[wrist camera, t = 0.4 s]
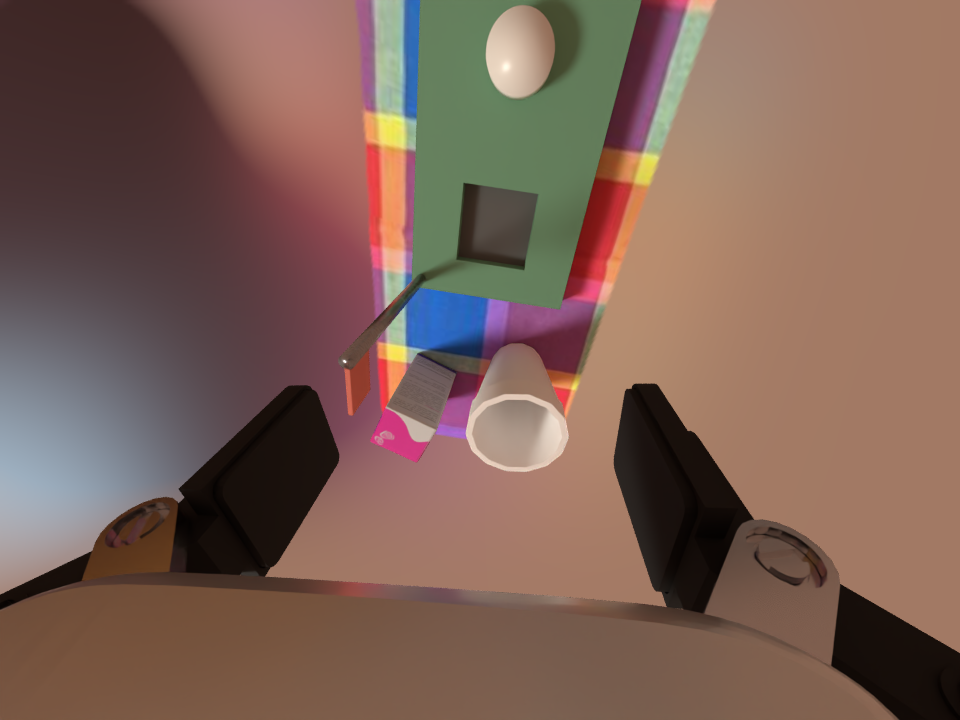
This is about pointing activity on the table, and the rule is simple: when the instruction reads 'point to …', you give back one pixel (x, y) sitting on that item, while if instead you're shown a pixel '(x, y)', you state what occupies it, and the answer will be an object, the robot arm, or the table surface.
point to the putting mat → (503, 158)
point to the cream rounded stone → (520, 52)
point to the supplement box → (415, 408)
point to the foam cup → (517, 413)
